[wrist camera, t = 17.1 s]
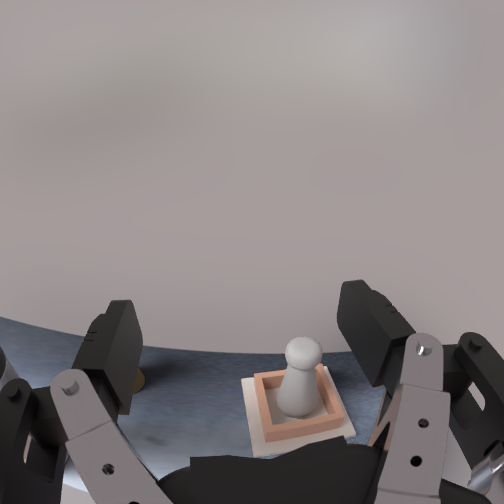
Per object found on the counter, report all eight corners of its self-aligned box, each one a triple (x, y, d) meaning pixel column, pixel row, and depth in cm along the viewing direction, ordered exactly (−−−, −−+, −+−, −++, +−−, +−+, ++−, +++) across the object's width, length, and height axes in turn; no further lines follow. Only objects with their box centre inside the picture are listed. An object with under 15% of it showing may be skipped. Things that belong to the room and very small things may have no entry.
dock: (253, 457, 30) (253, 446, 28) (241, 381, 42) (240, 366, 41) (354, 436, 31) (362, 423, 30) (325, 369, 44) (328, 353, 42)
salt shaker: (315, 393, 38) (328, 329, 33) (316, 424, 33) (332, 363, 28) (277, 391, 39) (280, 327, 34) (273, 422, 34) (277, 362, 29)
